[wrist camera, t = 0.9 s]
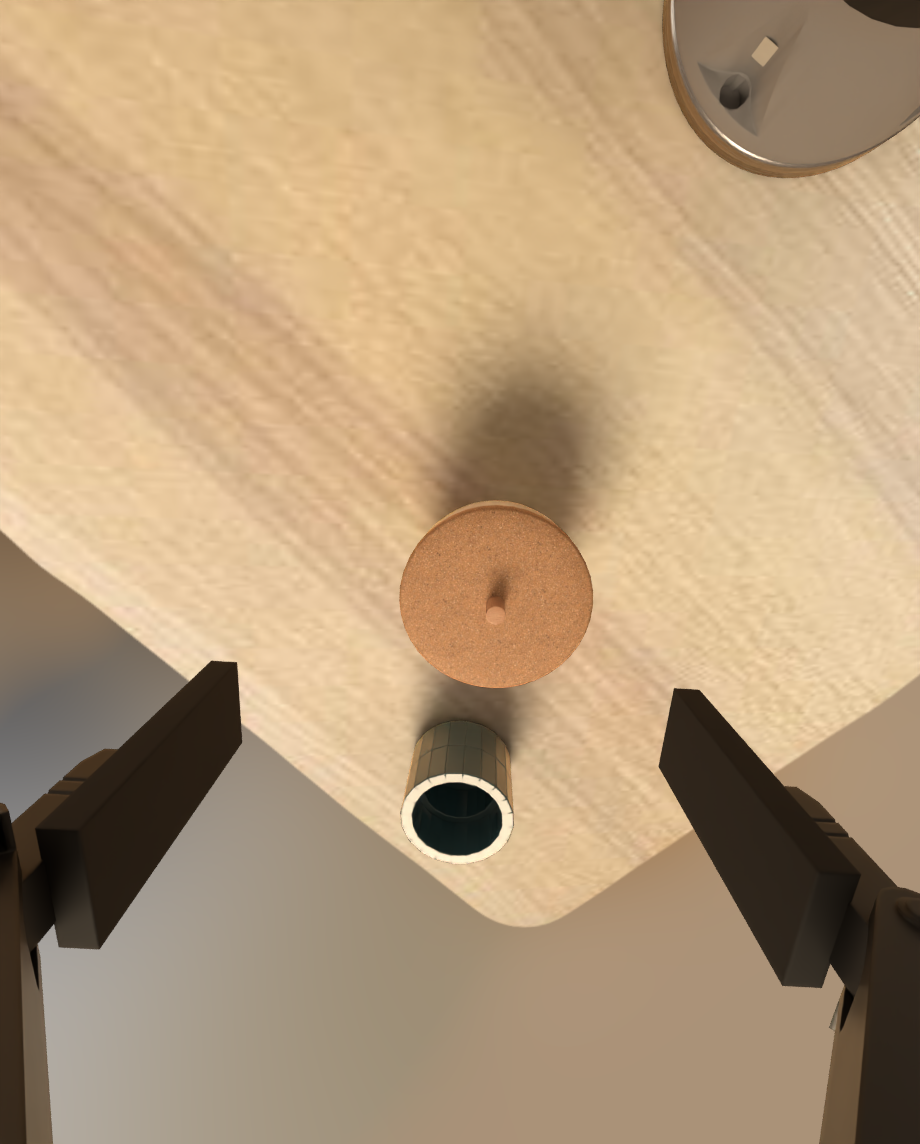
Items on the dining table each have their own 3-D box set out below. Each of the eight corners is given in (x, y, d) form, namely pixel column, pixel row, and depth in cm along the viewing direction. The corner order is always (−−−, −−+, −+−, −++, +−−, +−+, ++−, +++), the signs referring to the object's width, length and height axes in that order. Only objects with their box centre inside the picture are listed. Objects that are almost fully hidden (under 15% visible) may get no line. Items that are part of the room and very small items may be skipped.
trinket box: (578, 624, 37) (606, 694, 28) (430, 641, 38) (413, 714, 29) (564, 474, 34) (591, 499, 25) (404, 497, 35) (375, 530, 26)
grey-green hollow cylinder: (508, 715, 40) (512, 772, 34) (510, 796, 42) (514, 864, 36) (410, 716, 40) (396, 773, 34) (417, 797, 42) (405, 863, 36)
